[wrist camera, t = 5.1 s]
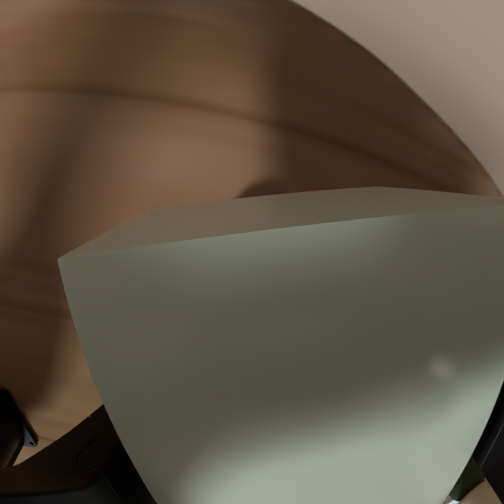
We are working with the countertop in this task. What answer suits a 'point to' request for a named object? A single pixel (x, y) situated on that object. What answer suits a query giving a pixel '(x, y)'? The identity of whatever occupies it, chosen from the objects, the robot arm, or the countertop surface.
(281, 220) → the sage cover
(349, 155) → the countertop surface
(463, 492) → the toy figurine
